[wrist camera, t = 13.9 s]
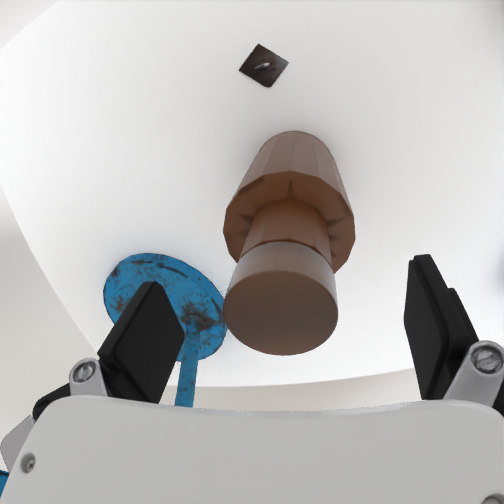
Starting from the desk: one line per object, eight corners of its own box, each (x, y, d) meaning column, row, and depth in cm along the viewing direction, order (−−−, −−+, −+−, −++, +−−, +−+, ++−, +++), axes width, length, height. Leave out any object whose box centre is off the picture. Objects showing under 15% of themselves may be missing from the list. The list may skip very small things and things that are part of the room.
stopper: (236, 214, 15) (208, 276, 11) (325, 203, 14) (334, 264, 10) (255, 286, 17) (238, 357, 13) (334, 278, 16) (340, 352, 12)
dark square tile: (258, 43, 21) (257, 40, 20) (289, 62, 22) (289, 60, 21) (238, 70, 22) (236, 69, 21) (269, 89, 23) (268, 88, 22)
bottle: (247, 138, 25) (181, 218, 12) (328, 125, 24) (363, 193, 10) (264, 210, 29) (226, 342, 15) (338, 201, 27) (366, 332, 14)
